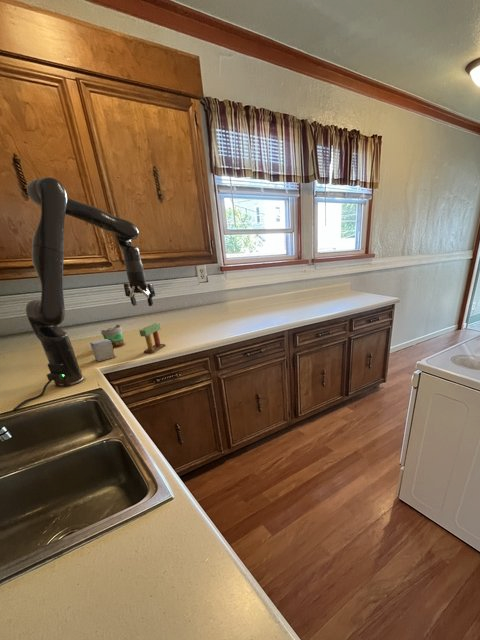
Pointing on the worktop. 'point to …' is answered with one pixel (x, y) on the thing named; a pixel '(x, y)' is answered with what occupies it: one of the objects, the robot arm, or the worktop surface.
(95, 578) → the worktop surface
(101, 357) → the medicine box
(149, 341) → the rod stand
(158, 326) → the bar
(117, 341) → the food container
